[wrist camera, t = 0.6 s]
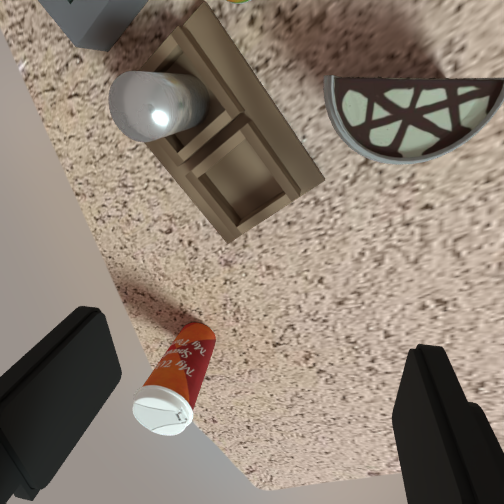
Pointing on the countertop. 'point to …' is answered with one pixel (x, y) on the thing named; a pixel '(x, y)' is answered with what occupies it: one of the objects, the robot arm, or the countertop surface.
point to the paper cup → (175, 382)
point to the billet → (157, 104)
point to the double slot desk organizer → (230, 133)
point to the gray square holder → (93, 20)
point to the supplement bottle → (238, 1)
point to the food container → (409, 114)
